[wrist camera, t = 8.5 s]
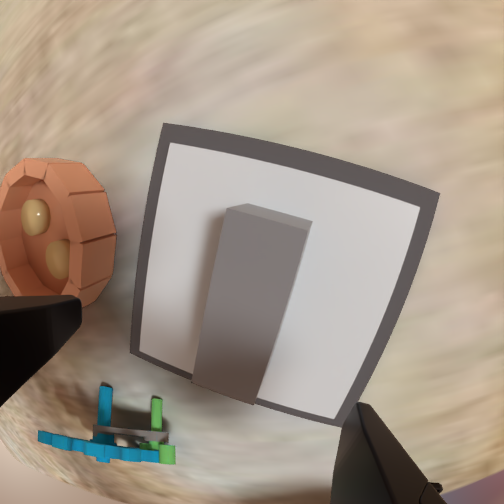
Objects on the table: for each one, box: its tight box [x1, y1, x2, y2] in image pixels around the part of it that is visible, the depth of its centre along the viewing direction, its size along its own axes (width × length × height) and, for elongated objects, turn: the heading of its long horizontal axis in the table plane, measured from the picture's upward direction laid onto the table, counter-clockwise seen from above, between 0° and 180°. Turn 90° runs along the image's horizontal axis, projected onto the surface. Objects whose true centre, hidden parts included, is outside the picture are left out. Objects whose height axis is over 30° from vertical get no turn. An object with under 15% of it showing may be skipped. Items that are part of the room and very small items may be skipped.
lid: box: [139, 143, 420, 419], centre depth 14 cm, size 12×12×4 cm
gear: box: [38, 386, 175, 464], centre depth 18 cm, size 11×6×10 cm
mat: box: [130, 123, 440, 428], centre depth 16 cm, size 14×14×1 cm
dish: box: [0, 158, 117, 308], centre depth 17 cm, size 10×10×3 cm
